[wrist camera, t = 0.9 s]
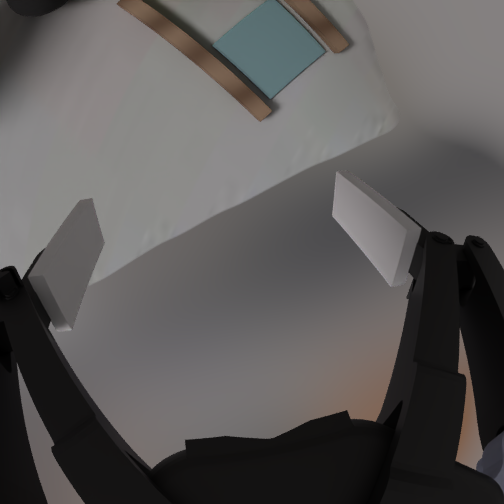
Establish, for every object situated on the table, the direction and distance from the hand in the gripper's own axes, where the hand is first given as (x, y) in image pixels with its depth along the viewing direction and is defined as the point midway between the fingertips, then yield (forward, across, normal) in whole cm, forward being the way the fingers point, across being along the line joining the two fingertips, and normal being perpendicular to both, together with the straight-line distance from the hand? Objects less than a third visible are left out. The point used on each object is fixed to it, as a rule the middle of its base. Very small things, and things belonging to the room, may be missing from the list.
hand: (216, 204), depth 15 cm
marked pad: (+24, +9, +10) cm, 27 cm away
